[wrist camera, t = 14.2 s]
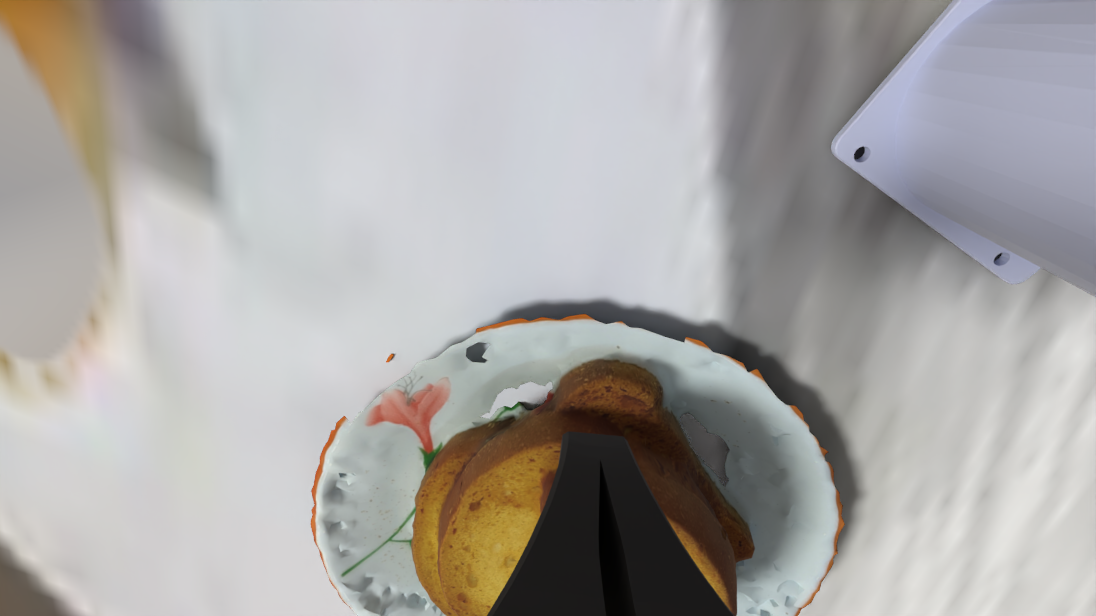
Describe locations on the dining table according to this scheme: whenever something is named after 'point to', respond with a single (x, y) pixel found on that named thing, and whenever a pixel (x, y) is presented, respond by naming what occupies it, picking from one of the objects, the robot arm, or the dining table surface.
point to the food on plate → (532, 460)
